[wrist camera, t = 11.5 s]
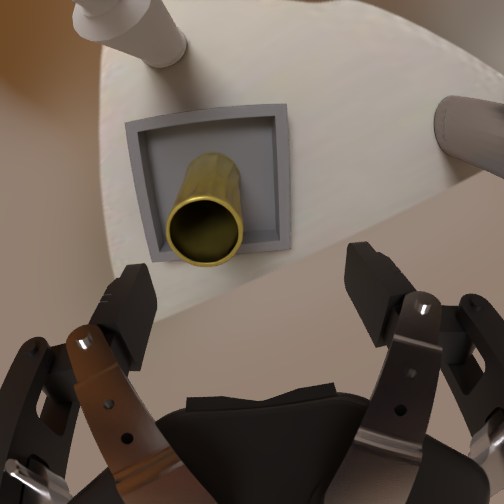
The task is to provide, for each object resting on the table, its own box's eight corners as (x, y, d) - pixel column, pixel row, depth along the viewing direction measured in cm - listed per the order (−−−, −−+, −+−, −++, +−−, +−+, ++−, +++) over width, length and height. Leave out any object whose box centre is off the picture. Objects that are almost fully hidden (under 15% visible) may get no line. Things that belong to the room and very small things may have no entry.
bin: (279, 103, 29) (286, 103, 25) (284, 233, 37) (290, 249, 33) (136, 120, 28) (124, 122, 25) (158, 246, 36) (152, 262, 32)
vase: (220, 214, 34) (218, 286, 21) (175, 187, 31) (143, 246, 19) (250, 171, 31) (268, 221, 19) (204, 141, 29) (187, 170, 17)
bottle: (142, 72, 25) (-27, 37, 4) (142, 31, 23) (-1, -58, 1) (188, 66, 26) (86, -23, 4) (188, 25, 23) (111, -113, 2)
